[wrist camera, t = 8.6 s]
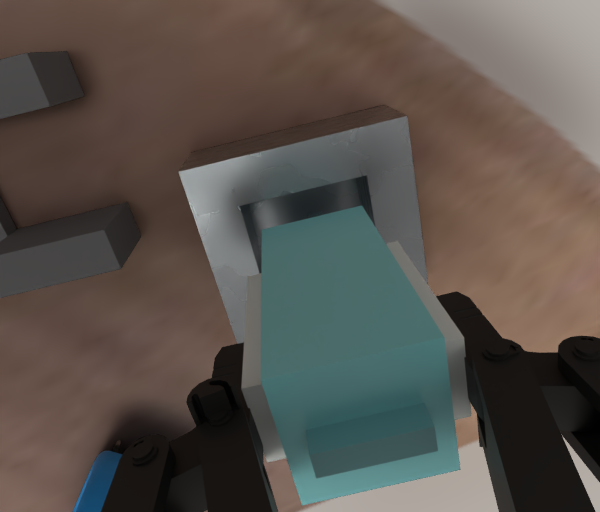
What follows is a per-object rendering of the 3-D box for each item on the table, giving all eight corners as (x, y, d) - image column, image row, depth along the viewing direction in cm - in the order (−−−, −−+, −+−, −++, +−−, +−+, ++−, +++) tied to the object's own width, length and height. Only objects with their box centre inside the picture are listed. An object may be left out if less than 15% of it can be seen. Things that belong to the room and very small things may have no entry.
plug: (261, 229, 20) (260, 403, 10) (361, 205, 20) (457, 358, 10) (286, 315, 22) (304, 532, 12) (377, 293, 22) (472, 495, 12)
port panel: (191, 152, 24) (177, 173, 20) (384, 104, 23) (408, 116, 20) (244, 316, 28) (241, 359, 24) (409, 277, 28) (433, 314, 24)
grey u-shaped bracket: (-85, 89, 22) (-154, 98, 18) (66, 51, 21) (26, 52, 18) (13, 267, 26) (-29, 304, 22) (141, 236, 25) (120, 268, 22)
